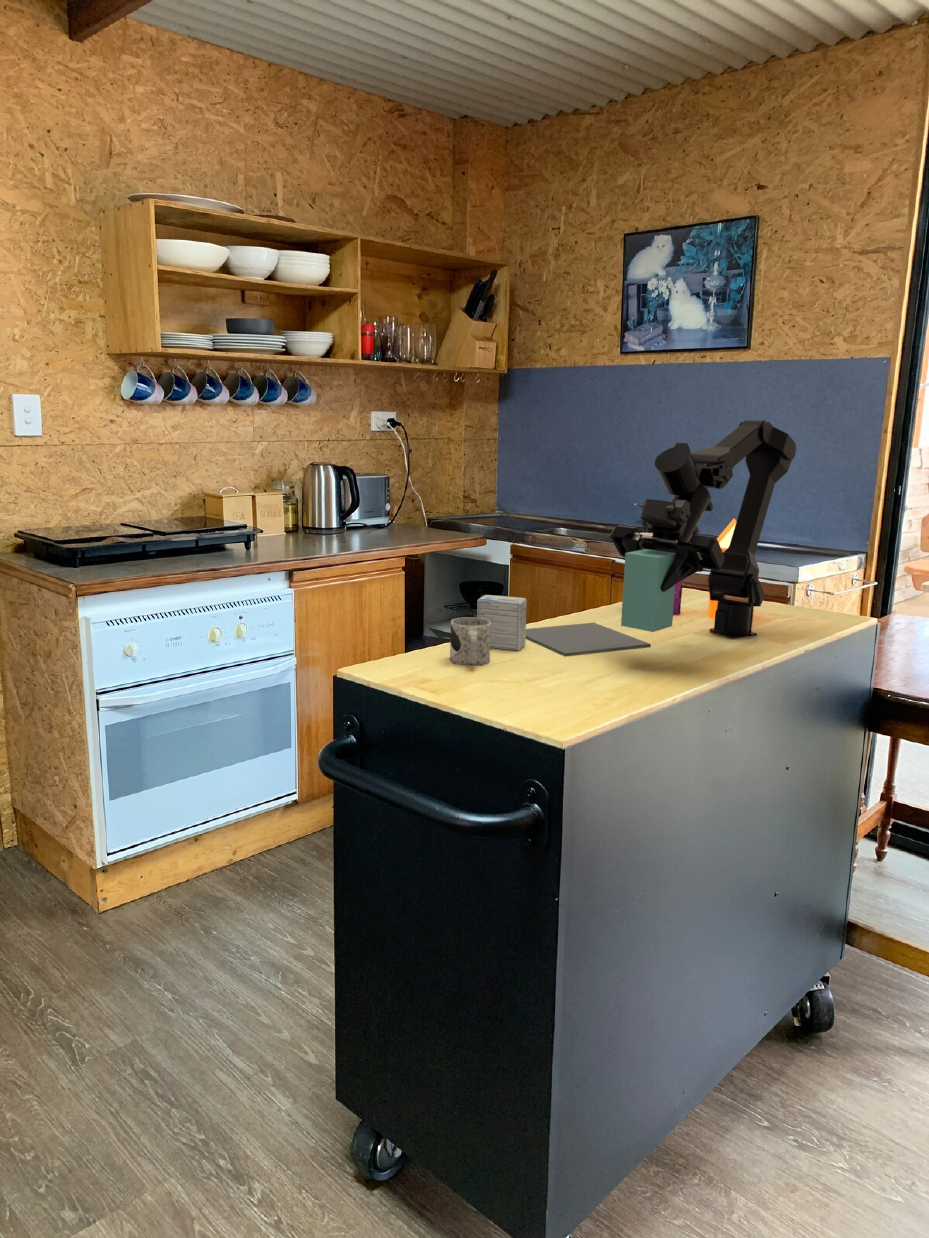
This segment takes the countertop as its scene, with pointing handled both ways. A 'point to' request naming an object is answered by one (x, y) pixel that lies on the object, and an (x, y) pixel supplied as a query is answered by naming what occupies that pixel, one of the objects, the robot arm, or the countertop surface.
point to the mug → (470, 641)
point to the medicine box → (504, 620)
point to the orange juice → (724, 544)
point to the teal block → (647, 591)
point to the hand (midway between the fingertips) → (644, 587)
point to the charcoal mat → (582, 639)
